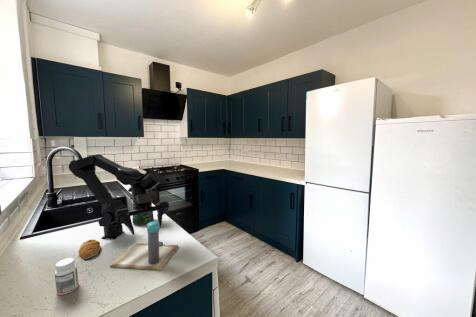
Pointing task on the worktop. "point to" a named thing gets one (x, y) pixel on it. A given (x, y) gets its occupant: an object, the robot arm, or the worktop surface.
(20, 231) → the worktop surface
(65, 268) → the pill bottle
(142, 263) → the clipboard
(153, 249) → the ball
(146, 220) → the coffee jar
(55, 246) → the worktop surface
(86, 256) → the pastry
